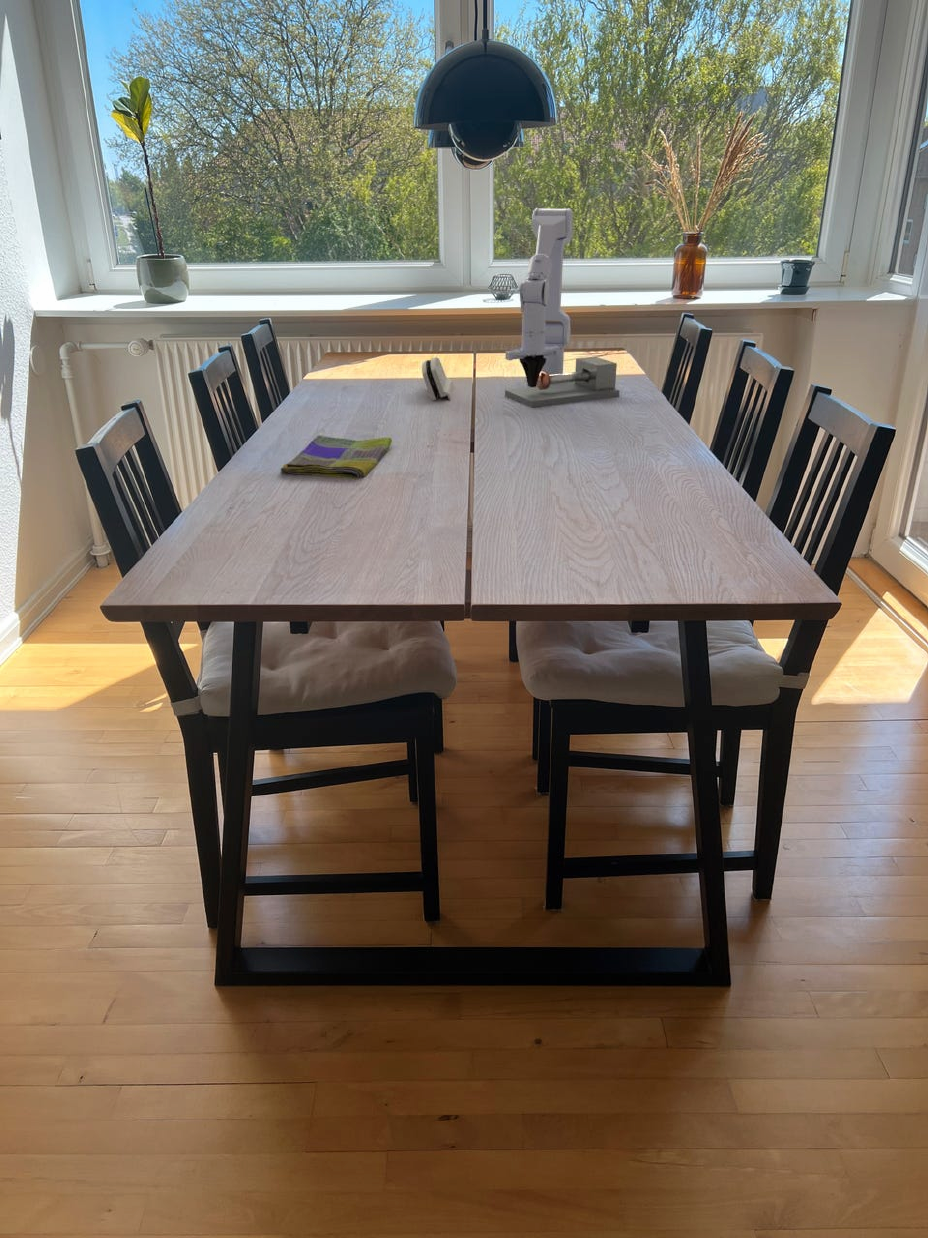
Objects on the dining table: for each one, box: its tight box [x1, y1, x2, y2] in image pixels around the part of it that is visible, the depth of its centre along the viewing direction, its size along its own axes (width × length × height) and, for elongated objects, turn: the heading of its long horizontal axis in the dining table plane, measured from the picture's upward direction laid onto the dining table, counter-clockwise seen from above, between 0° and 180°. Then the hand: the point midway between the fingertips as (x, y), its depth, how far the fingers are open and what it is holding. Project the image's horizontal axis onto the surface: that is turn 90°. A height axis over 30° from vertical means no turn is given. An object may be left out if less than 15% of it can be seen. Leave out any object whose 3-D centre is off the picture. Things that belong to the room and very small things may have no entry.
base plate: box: [504, 382, 620, 408], centre depth 241 cm, size 14×26×2 cm, turn 116°
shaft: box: [536, 371, 589, 390], centre depth 240 cm, size 4×15×4 cm, turn 116°
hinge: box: [421, 357, 455, 401], centre depth 244 cm, size 17×5×10 cm, turn 178°
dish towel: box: [280, 434, 393, 479], centre depth 192 cm, size 18×24×3 cm
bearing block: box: [574, 356, 618, 391], centre depth 243 cm, size 10×6×6 cm, turn 26°
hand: (532, 386), depth 237 cm, fingers closed
